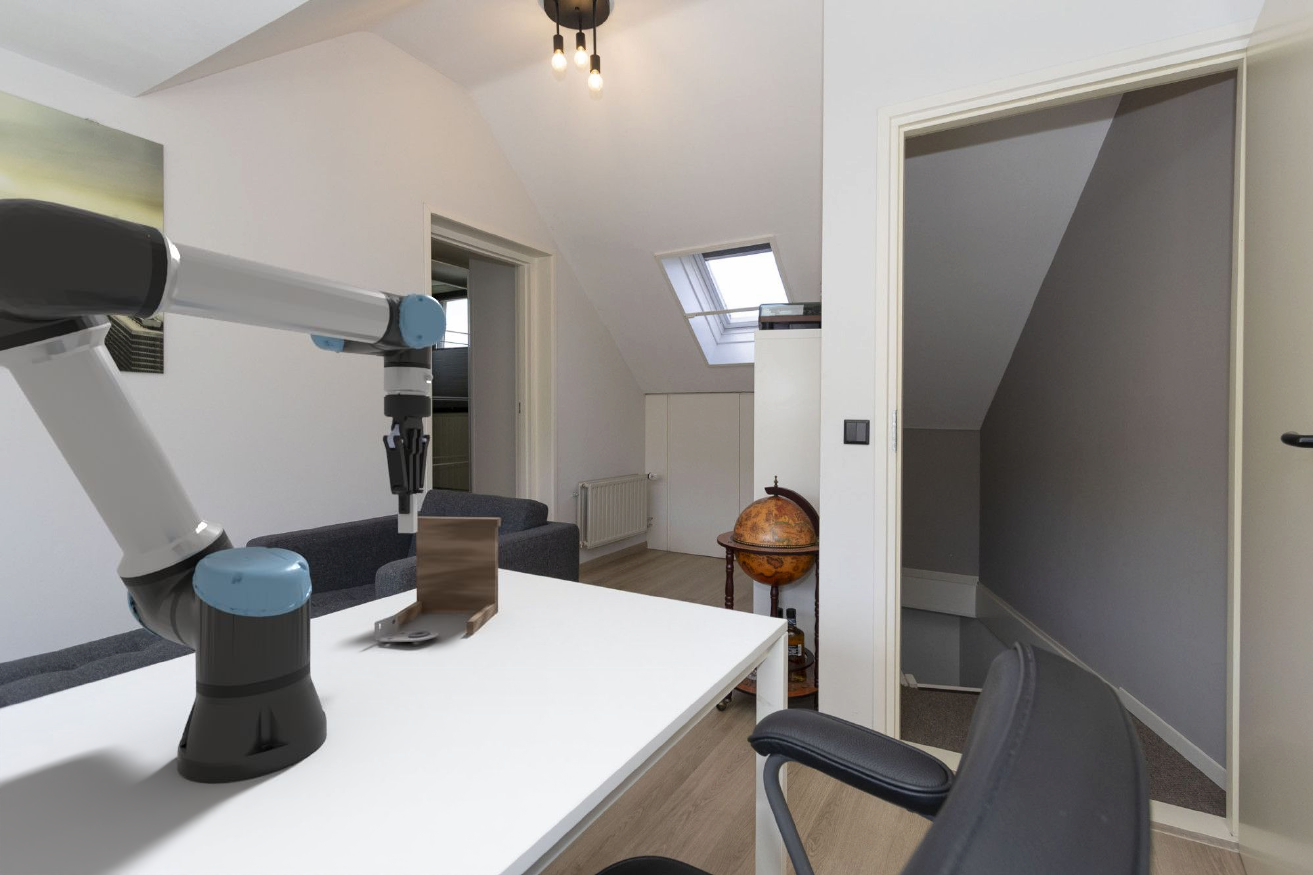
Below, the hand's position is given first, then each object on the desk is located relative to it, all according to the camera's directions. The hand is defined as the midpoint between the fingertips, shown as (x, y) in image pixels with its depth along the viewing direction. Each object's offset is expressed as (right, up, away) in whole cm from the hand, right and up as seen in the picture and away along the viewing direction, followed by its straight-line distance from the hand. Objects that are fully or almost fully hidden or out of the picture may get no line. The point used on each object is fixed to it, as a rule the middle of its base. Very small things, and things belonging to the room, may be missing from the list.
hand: (407, 532), depth 111 cm
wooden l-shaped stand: (+1, -20, +16) cm, 26 cm away
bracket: (0, -21, +2) cm, 21 cm away
